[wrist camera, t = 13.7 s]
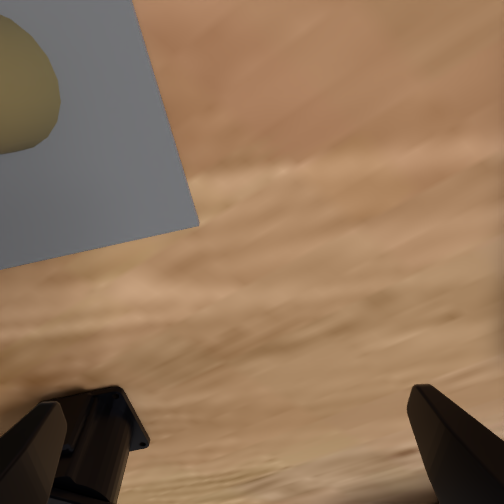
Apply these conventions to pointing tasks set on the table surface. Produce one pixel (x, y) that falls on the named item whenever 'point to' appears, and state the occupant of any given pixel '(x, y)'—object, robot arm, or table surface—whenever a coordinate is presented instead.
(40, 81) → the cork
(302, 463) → the table surface
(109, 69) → the mat
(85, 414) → the robot arm
